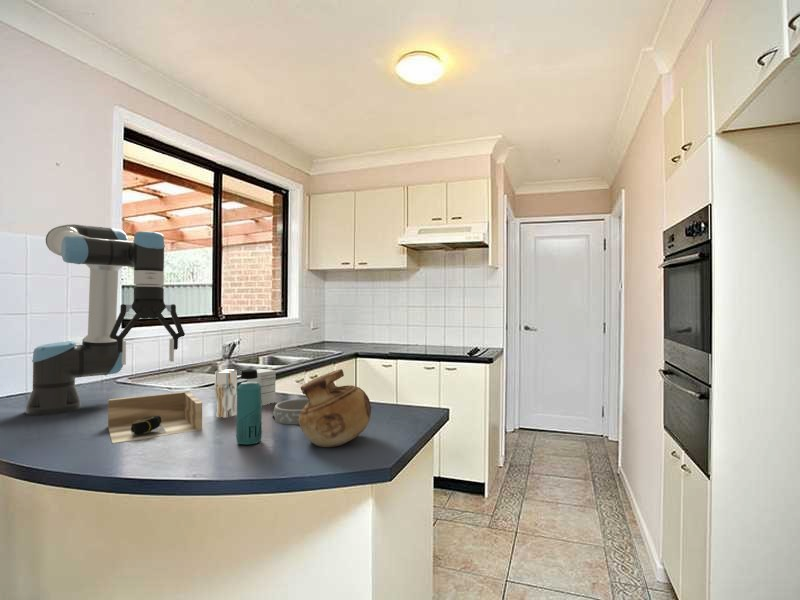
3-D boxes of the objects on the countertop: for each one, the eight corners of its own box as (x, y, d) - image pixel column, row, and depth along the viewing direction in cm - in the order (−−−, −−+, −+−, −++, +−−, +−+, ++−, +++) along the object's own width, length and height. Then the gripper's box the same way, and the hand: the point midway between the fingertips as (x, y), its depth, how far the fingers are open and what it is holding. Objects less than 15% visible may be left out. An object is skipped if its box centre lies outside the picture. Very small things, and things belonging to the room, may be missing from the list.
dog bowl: (278, 431, 133) (278, 412, 133) (269, 416, 149) (269, 400, 149) (334, 424, 140) (334, 407, 140) (319, 411, 156) (319, 395, 156)
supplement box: (246, 405, 163) (246, 370, 163) (262, 401, 169) (263, 368, 169) (259, 408, 159) (259, 372, 159) (276, 404, 165) (276, 370, 165)
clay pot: (308, 434, 129) (309, 364, 129) (373, 435, 128) (374, 364, 128) (290, 457, 110) (290, 375, 110) (366, 458, 109) (367, 375, 109)
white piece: (209, 418, 145) (209, 371, 145) (225, 413, 152) (225, 368, 152) (226, 420, 142) (226, 373, 142) (241, 415, 149) (242, 370, 149)
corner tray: (108, 427, 134) (108, 399, 134) (188, 416, 147) (188, 391, 147) (112, 445, 118) (112, 413, 118) (202, 431, 131) (202, 402, 131)
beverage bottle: (247, 452, 113) (247, 372, 113) (230, 447, 117) (230, 370, 117) (267, 445, 119) (268, 369, 119) (250, 440, 122) (251, 367, 122)
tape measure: (163, 424, 130) (160, 412, 130) (157, 431, 124) (153, 418, 123) (138, 431, 129) (134, 419, 128) (130, 439, 122) (126, 426, 122)
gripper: (99, 284, 119) (99, 367, 119) (196, 287, 133) (195, 361, 133) (98, 285, 125) (97, 363, 125) (191, 287, 139) (190, 358, 139)
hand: (148, 362), depth 129 cm, fingers open, 11 cm apart
